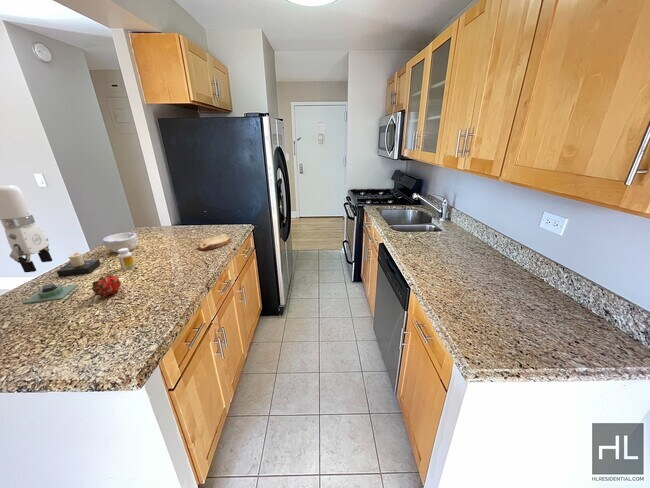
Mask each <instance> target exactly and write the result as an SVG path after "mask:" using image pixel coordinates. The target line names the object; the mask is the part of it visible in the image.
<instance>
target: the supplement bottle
mask: <svg viewBox="0 0 650 488" xmlns="http://www.w3.org/2000/svg"><path fill="white" fill-rule="evenodd" d="M117 258H118V263H119V264H120V267H121V270H123V271H127V270H132V269H134V268H135V267H136V263H135V260H134V257H133V254H132V253H131V252H130V250H128V248H122V249H119V250H118V253H117Z"/></svg>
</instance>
